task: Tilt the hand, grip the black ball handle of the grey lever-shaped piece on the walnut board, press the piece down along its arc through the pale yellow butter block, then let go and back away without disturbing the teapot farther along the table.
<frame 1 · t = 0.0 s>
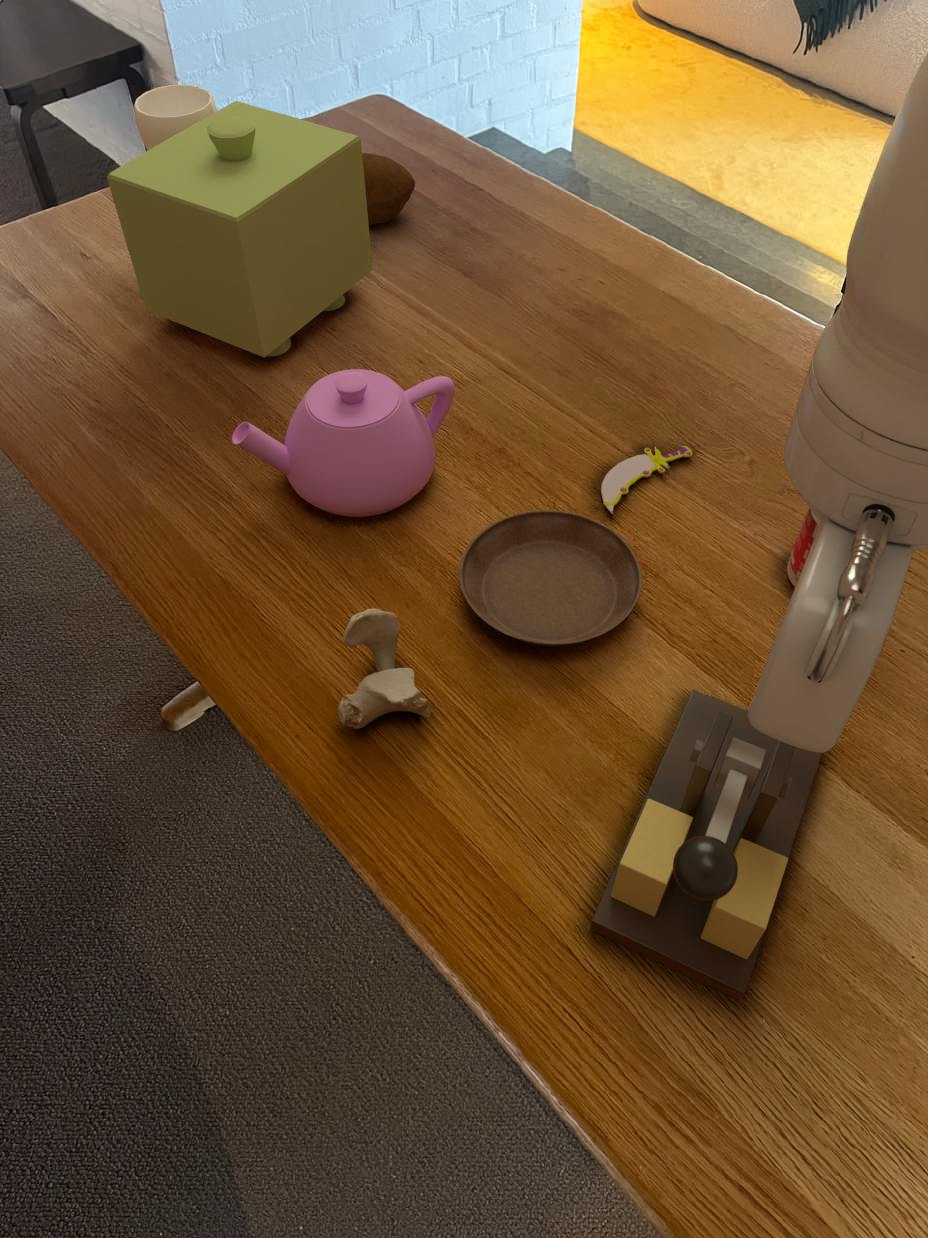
hand: (811, 648, 49), 22 cm above the table, tool pointing down, fingers open, 8 cm apart
potato: (367, 219, 119), on the table
butter: (716, 825, 65), resting on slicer
saucer: (548, 595, 80), on the table
container: (266, 310, 107), on the table
cup: (206, 241, 116), on the table
grey lever-shaped piece: (724, 814, 54), point 12 cm above the table, hinge at 30.0°
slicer: (712, 835, 66), on the table
bone: (390, 710, 73), on the table
teapot: (354, 477, 89), on the table
decorative knife: (642, 476, 89), on the table
pill bottle: (822, 579, 81), on the table
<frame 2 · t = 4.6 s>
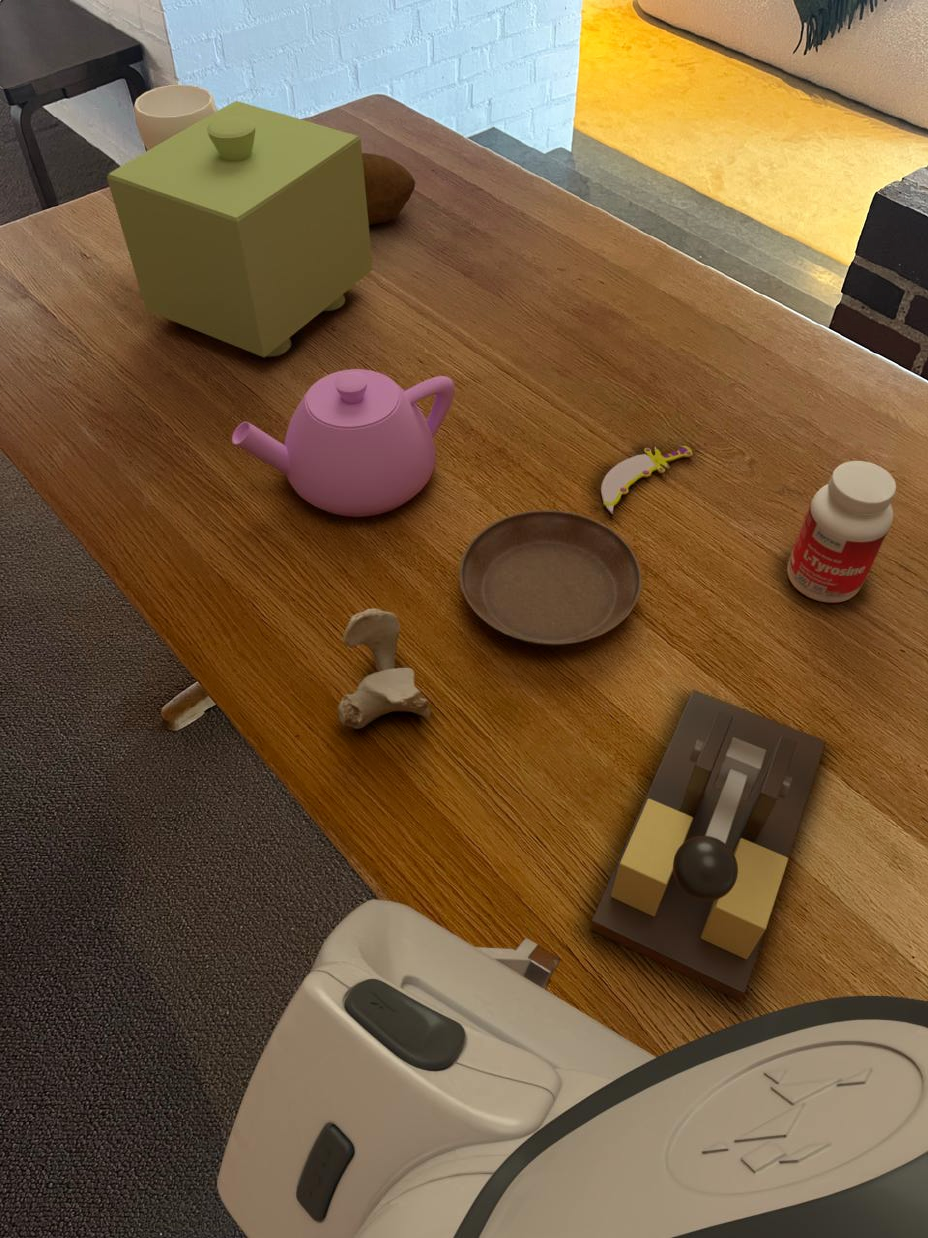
hand: (651, 1034, 34), 25 cm above the table, tool tilted 45°, fingers open, 8 cm apart
nothing on the table moved.
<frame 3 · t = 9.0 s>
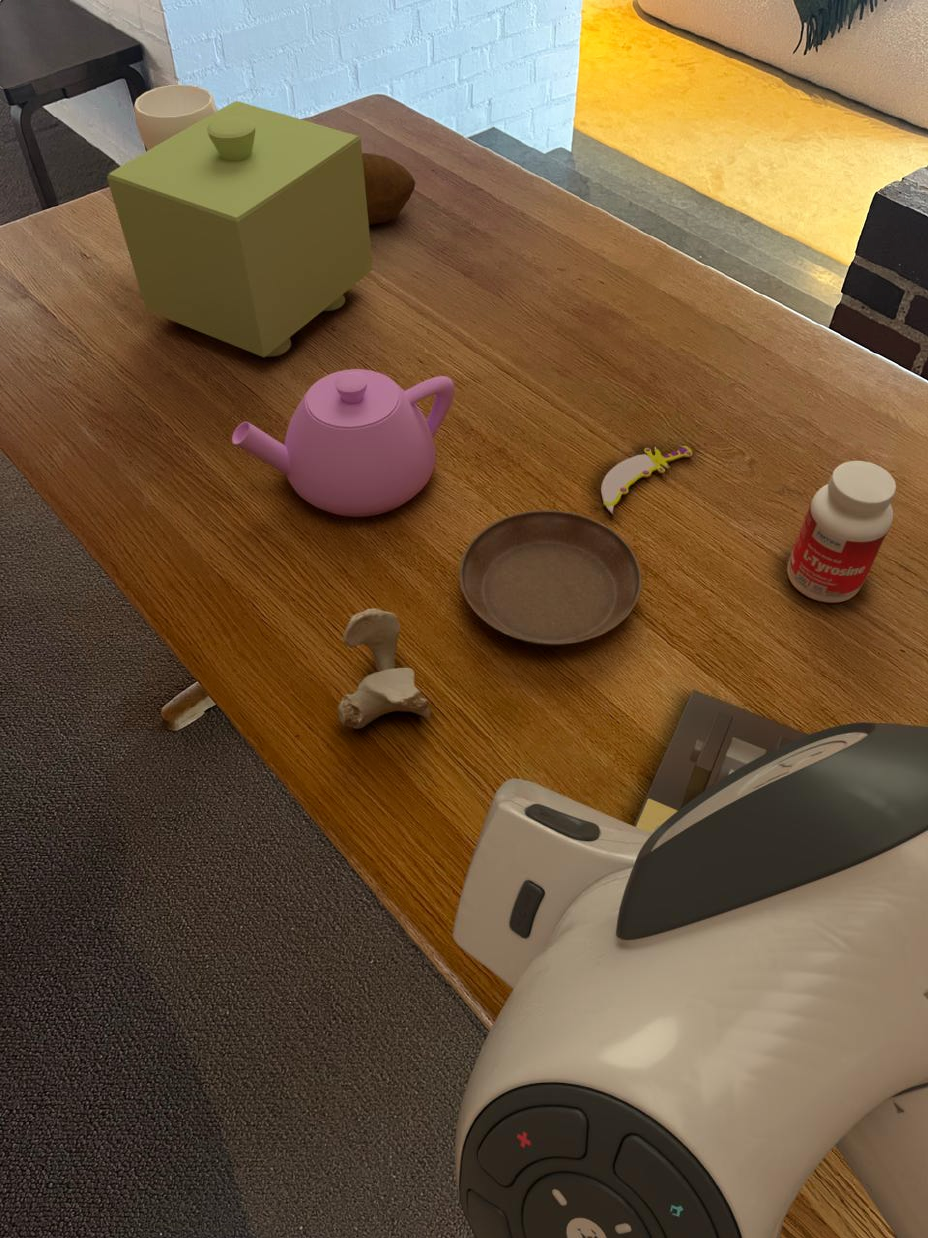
hand: (706, 862, 49), 14 cm above the table, tool tilted 45°, fingers closed on grey lever-shaped piece, 3 cm apart
grey lever-shaped piece: (724, 814, 54), point 12 cm above the table, hinge at 30.0°, touching gripper
everything else where it was.
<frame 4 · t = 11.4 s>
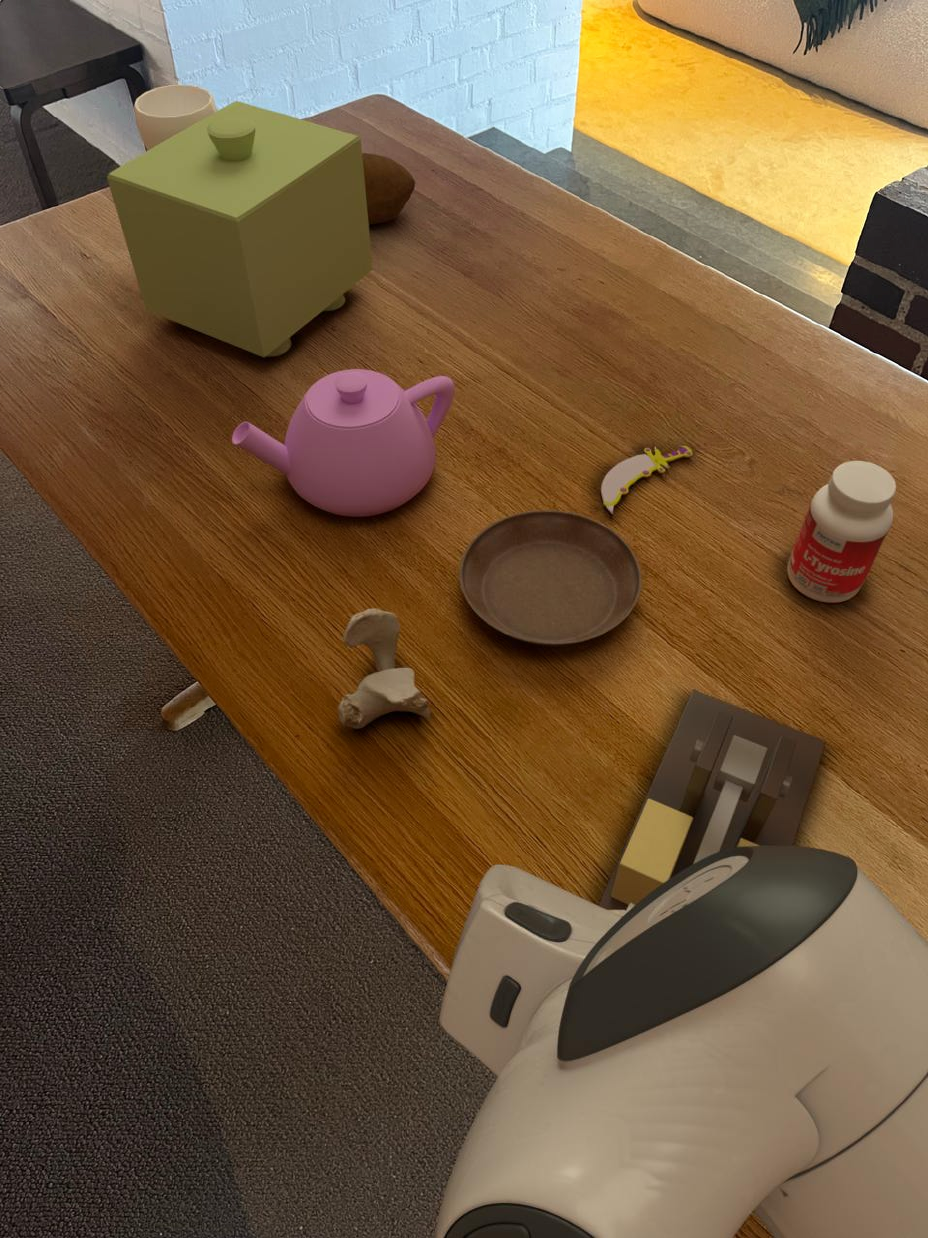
hand: (675, 937, 54), 8 cm above the table, tool tilted 45°, fingers closed on grey lever-shaped piece, 3 cm apart
grey lever-shaped piece: (708, 852, 56), point 9 cm above the table, hinge at -2.2°, touching gripper
everything else where it was.
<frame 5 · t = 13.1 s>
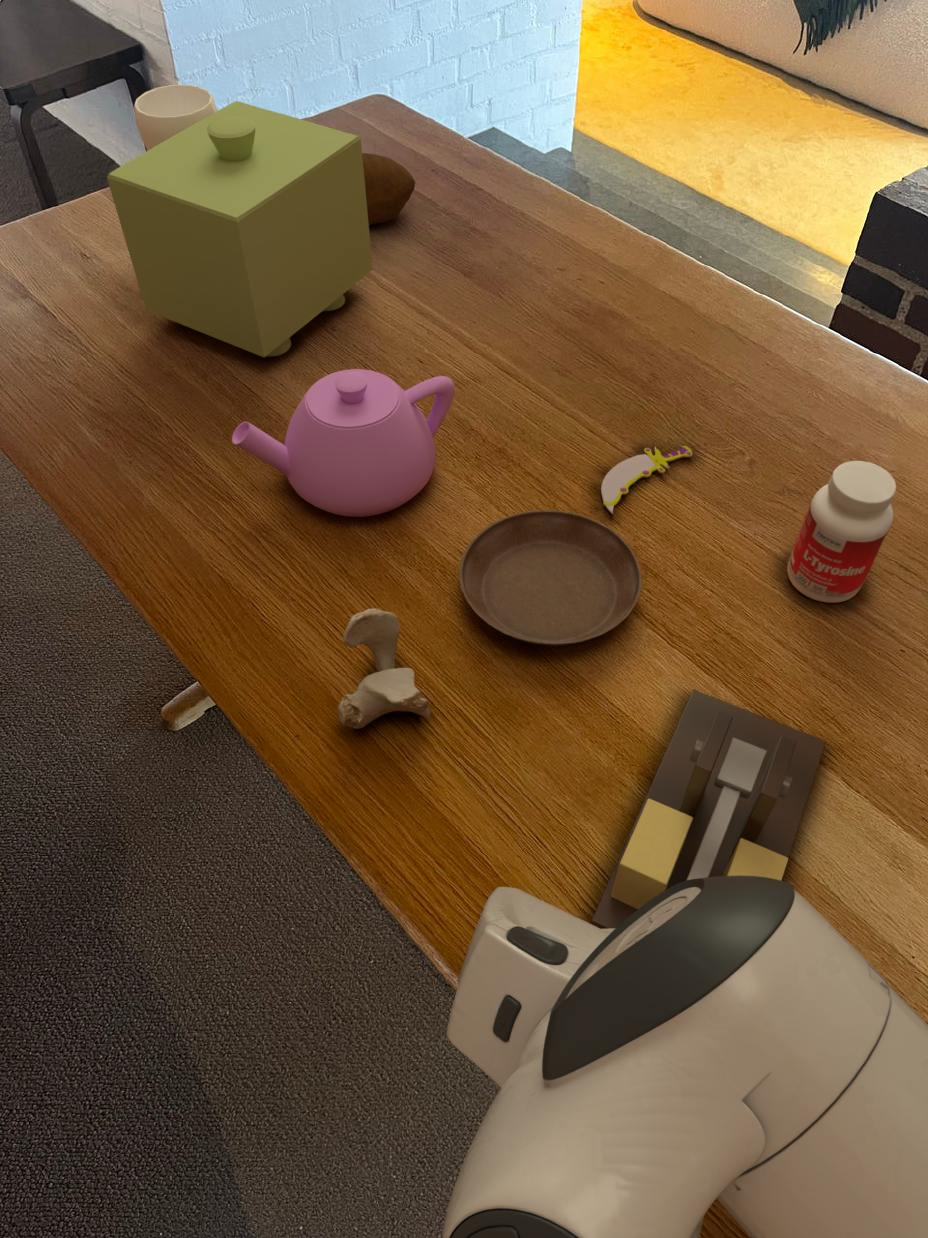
hand: (666, 953, 58), 3 cm above the table, tool tilted 45°, fingers closed on grey lever-shaped piece, 3 cm apart
grey lever-shaped piece: (704, 861, 57), point 7 cm above the table, hinge at -20.6°, touching gripper
everything else where it was.
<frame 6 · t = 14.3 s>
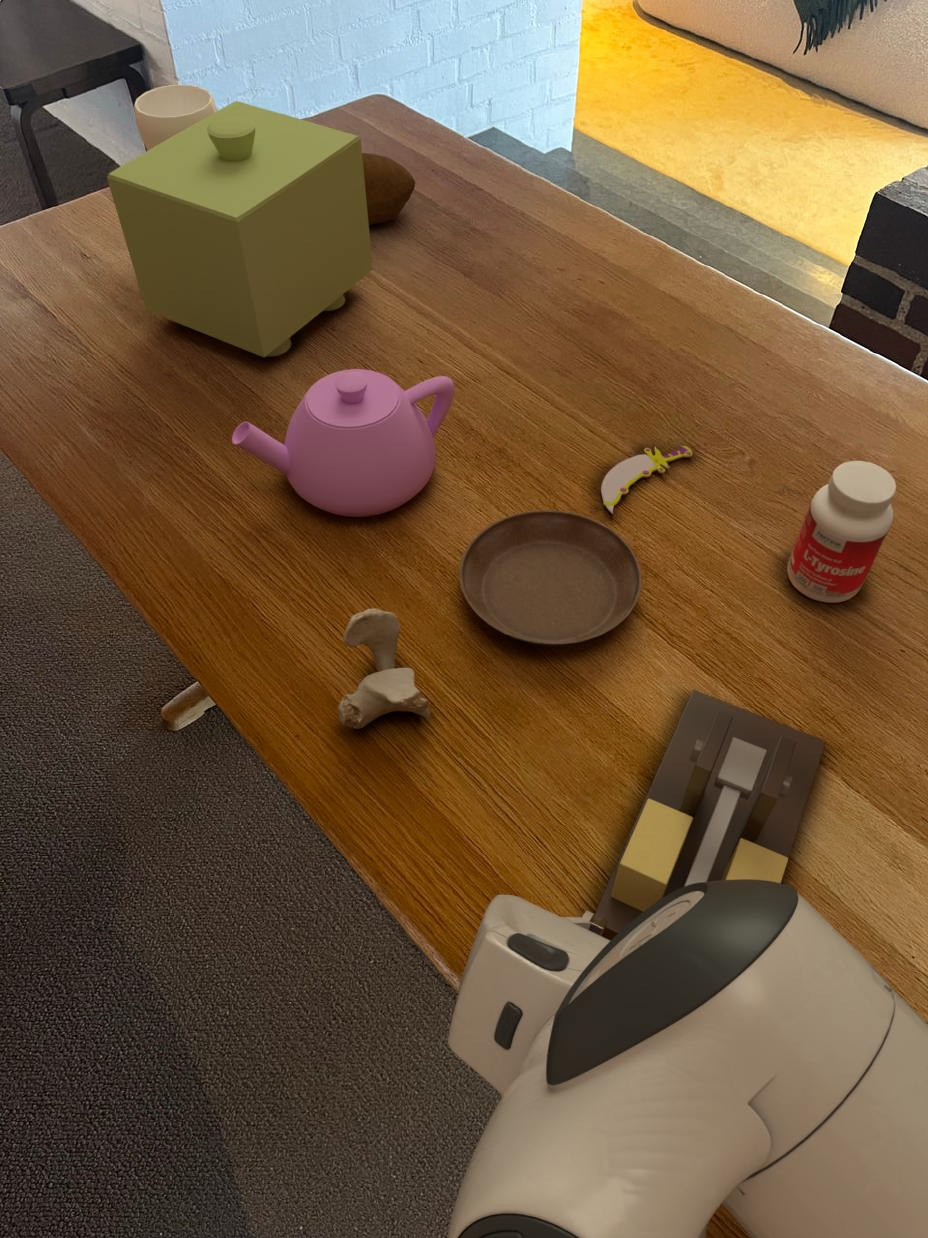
hand: (666, 960, 58), 3 cm above the table, tool tilted 45°, fingers open, 8 cm apart
grey lever-shaped piece: (704, 860, 57), point 7 cm above the table, hinge at -18.5°
everything else where it was.
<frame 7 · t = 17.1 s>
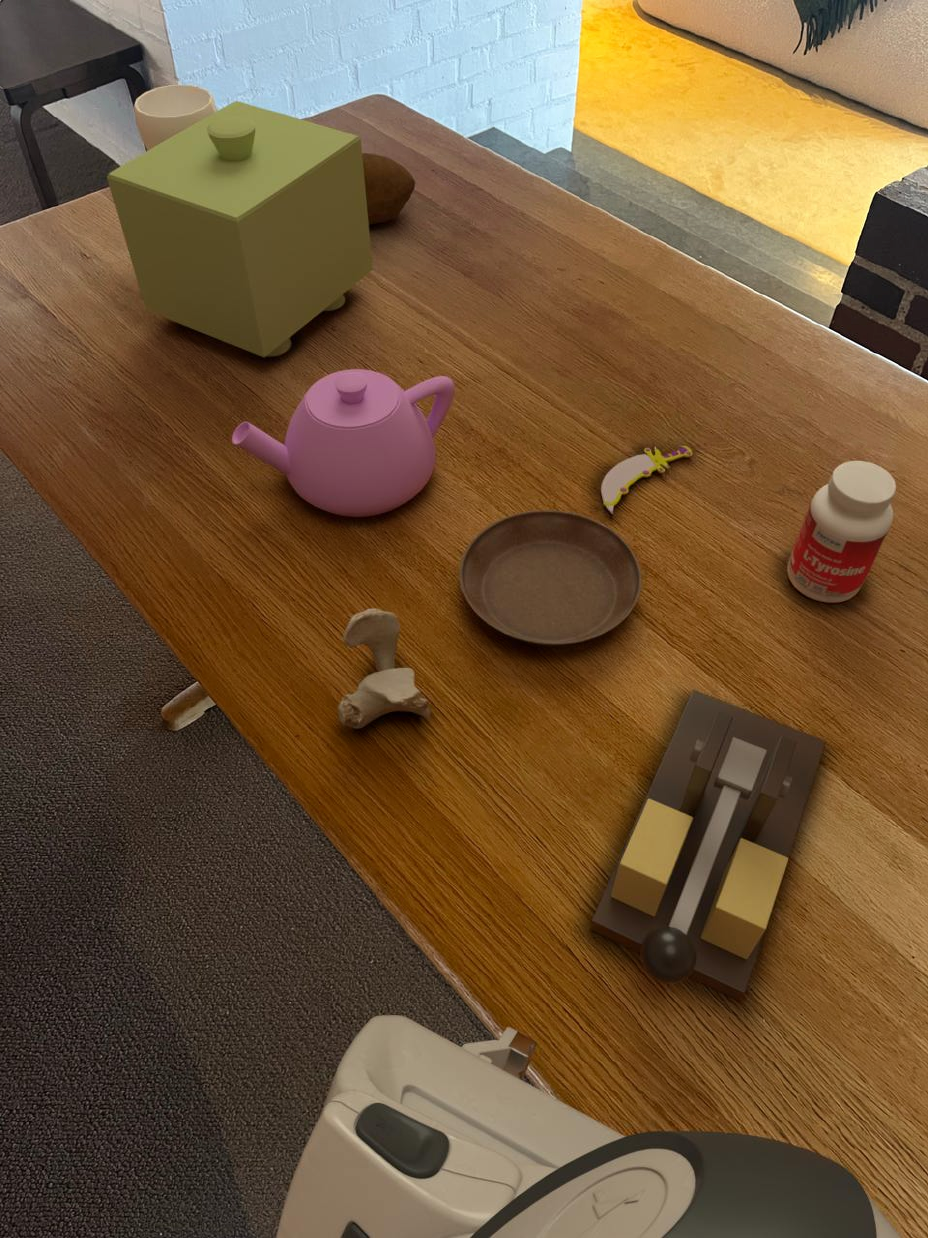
hand: (616, 1100, 42), 15 cm above the table, tool tilted 45°, fingers open, 8 cm apart
nothing on the table moved.
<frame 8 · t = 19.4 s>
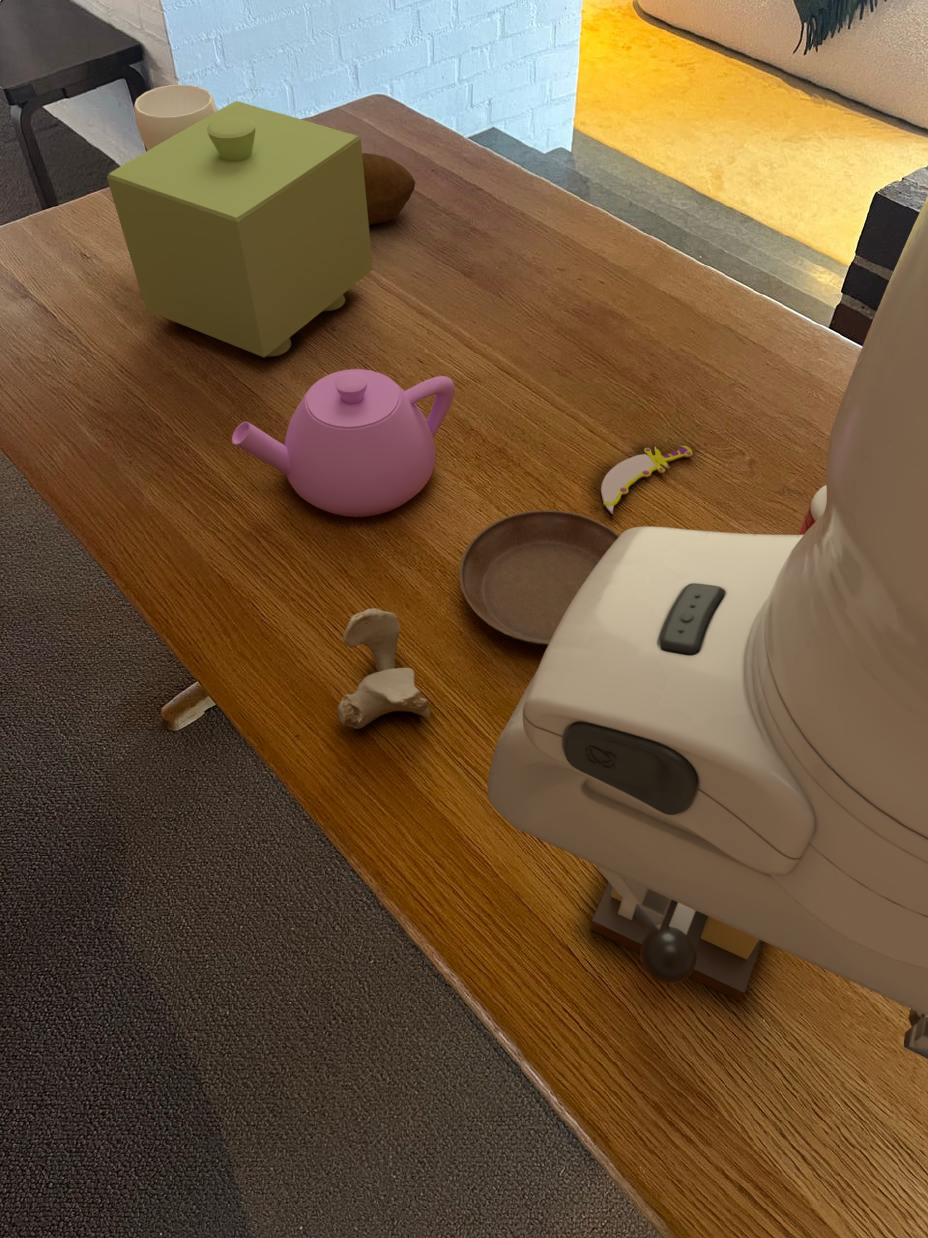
hand: (781, 968, 31), 29 cm above the table, tool pointing down, fingers open, 8 cm apart
nothing on the table moved.
at the end: grey lever-shaped piece at -18° (first picture: +30°); the gripper is holding nothing; teapot moved 0.2 cm from its start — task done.
